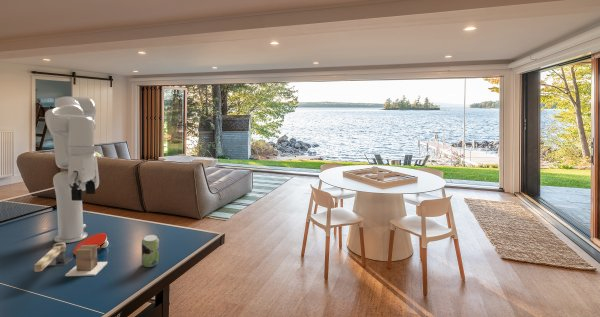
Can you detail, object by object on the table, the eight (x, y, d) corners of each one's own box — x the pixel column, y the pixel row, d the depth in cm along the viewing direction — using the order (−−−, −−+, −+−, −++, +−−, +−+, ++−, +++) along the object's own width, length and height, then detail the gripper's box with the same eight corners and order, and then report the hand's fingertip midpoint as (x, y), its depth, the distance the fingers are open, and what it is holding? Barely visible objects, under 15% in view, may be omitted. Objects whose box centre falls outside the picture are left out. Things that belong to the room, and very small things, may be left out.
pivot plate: (56, 259, 130) (56, 258, 130) (72, 258, 131) (72, 258, 131) (47, 265, 124) (47, 265, 124) (64, 265, 125) (64, 264, 125)
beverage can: (155, 260, 133) (154, 231, 131) (162, 266, 128) (161, 236, 126) (138, 264, 128) (138, 235, 127) (145, 271, 123) (145, 240, 122)
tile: (79, 263, 127) (79, 262, 127) (107, 263, 128) (107, 261, 128) (65, 276, 117) (65, 274, 117) (95, 275, 119) (95, 273, 118)
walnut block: (83, 265, 125) (82, 245, 124) (97, 264, 126) (96, 244, 125) (76, 271, 120) (75, 250, 119) (91, 270, 121) (90, 250, 120)
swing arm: (56, 258, 129) (55, 243, 128) (68, 257, 130) (67, 242, 129) (31, 283, 110) (30, 265, 109) (45, 282, 111) (44, 264, 110)
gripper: (83, 148, 125) (84, 191, 127) (56, 153, 108) (59, 203, 110) (104, 148, 126) (105, 191, 128) (81, 153, 109) (83, 203, 111)
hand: (84, 196), depth 119 cm, fingers open, 9 cm apart
